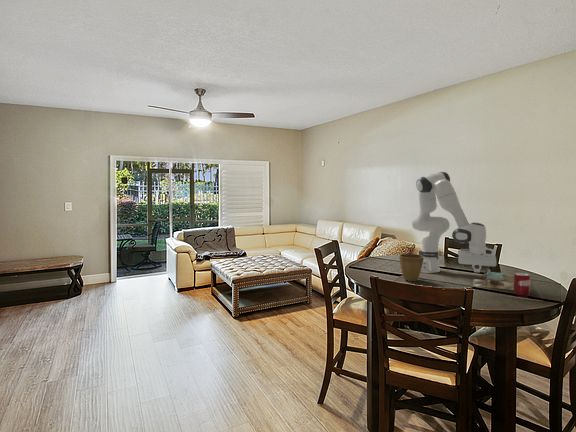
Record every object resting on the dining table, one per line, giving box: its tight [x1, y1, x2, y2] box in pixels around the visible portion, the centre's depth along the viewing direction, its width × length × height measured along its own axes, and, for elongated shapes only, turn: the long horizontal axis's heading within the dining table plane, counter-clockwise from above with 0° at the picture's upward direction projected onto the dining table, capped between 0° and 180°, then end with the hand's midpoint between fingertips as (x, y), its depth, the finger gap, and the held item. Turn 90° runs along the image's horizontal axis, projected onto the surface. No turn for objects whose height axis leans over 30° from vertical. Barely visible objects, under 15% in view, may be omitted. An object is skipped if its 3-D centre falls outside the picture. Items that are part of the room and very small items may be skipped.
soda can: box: [513, 272, 531, 299], centre depth 181 cm, size 7×7×12 cm
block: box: [489, 280, 500, 285], centre depth 200 cm, size 4×4×4 cm
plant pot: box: [398, 253, 424, 282], centre depth 216 cm, size 15×15×16 cm
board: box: [472, 272, 514, 291], centre depth 199 cm, size 24×17×6 cm
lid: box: [486, 268, 504, 280], centre depth 199 cm, size 8×14×3 cm, turn 150°
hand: (476, 272), depth 204 cm, fingers closed
